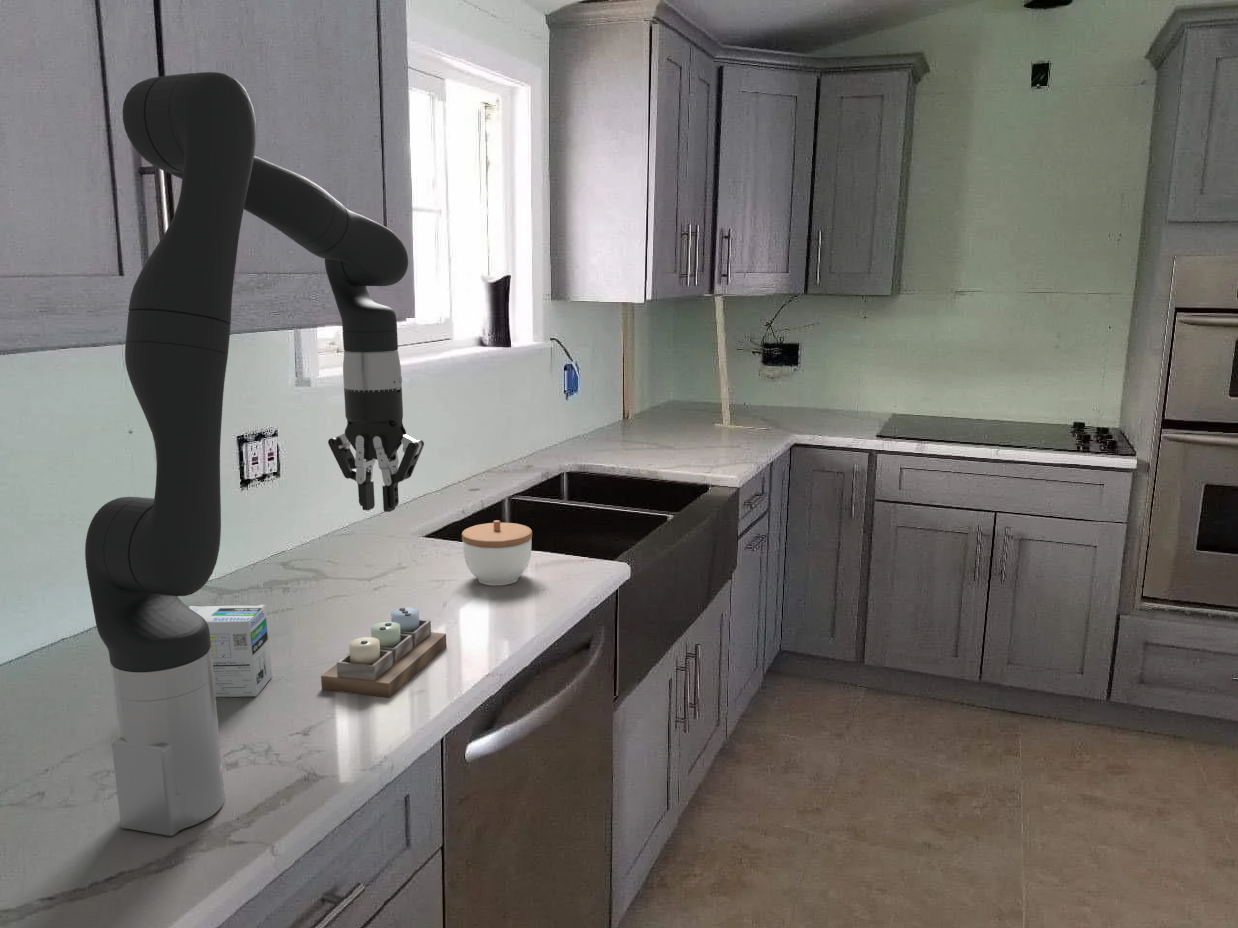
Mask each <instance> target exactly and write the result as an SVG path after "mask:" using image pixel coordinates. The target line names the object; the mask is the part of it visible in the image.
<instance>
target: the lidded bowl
mask: <svg viewBox="0 0 1238 928" xmlns="http://www.w3.org/2000/svg"><path fill="white" fill-rule="evenodd" d="M532 538H533V530H532V529H531V528H530V527H529V526H527V525H524V524H520V523H515V522H514V523H513V522H501V520H497V519H496V520H495V519H494V520H493V522H488V523H482V524H481V523H479V524H475V525H473V526H469V527H468V528H465V529H464V530H463V531H462V533H461V540H462V550H463V556H464V557H463V558H464V559H465V564H466V567H467V569H468V570H469V571H470V573H471V574H472V575H473V576H474V577H475V578H476V579H477V580H478V582H479V583H480V584H483V585H486V586H491V587H492V586H493V587H494V586H500V587H501V586H507V585H511V584H514V583H516V582H517V581H518V580H519V577H521V575H523V574H524V573H525V571H526V570H527V567H528V566H529V563H530V559H531V555H532V545H533V544H532Z"/></svg>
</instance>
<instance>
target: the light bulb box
mask: <svg viewBox="0 0 1238 928" xmlns="http://www.w3.org/2000/svg"><path fill="white" fill-rule="evenodd" d="M189 608H190V609H191V610H193V611H194V612H196V613H197V614H199V615H200V616H202V617H203V618H204V619H205V621H206V622H207V624H208V627H209V631H210V641H211V652H212V663H213V675H214V686H215V697H216V698H225V697H226V698H228V697H231V698H232V697H234V698H236V697H237V698H239V697H257V696H258V695H259V694H260V693H261V692H262V690H263V689H264V688H265V686H266V685H267V684H268V682H269V681H270V680H271V679H272V677H273V667H272V658H271V646H270V636H269V635H270V634H269V625H268V613H267V605H266V604H247V605H212V606H211V605H204V606H196V605H189Z"/></svg>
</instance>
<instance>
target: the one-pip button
mask: <svg viewBox="0 0 1238 928" xmlns="http://www.w3.org/2000/svg"><path fill="white" fill-rule="evenodd" d="M348 652H349V653H348V654H350V663H358V664H367V665H373V664H374V663H375V662H377V661H378V660H379V659H380V641H379V640H378V639H377V638H373V637H371V636H365V637H363V636H362V637H359V638H354V639H352V640H351V641H349V643H348Z"/></svg>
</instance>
